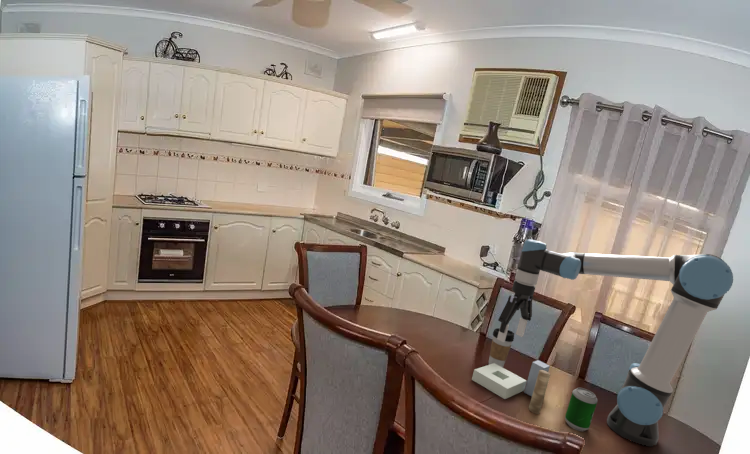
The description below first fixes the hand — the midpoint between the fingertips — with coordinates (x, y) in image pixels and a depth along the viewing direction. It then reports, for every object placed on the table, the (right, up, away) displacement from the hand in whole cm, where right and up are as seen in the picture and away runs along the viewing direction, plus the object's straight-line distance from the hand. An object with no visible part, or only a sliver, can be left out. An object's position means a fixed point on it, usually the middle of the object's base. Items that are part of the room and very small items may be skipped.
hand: (510, 338), depth 158 cm
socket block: (-4, -18, +3) cm, 19 cm away
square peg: (+9, -21, +1) cm, 23 cm away
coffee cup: (0, -17, +20) cm, 26 cm away
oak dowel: (+5, -22, -11) cm, 25 cm away
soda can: (+17, -25, -15) cm, 34 cm away
